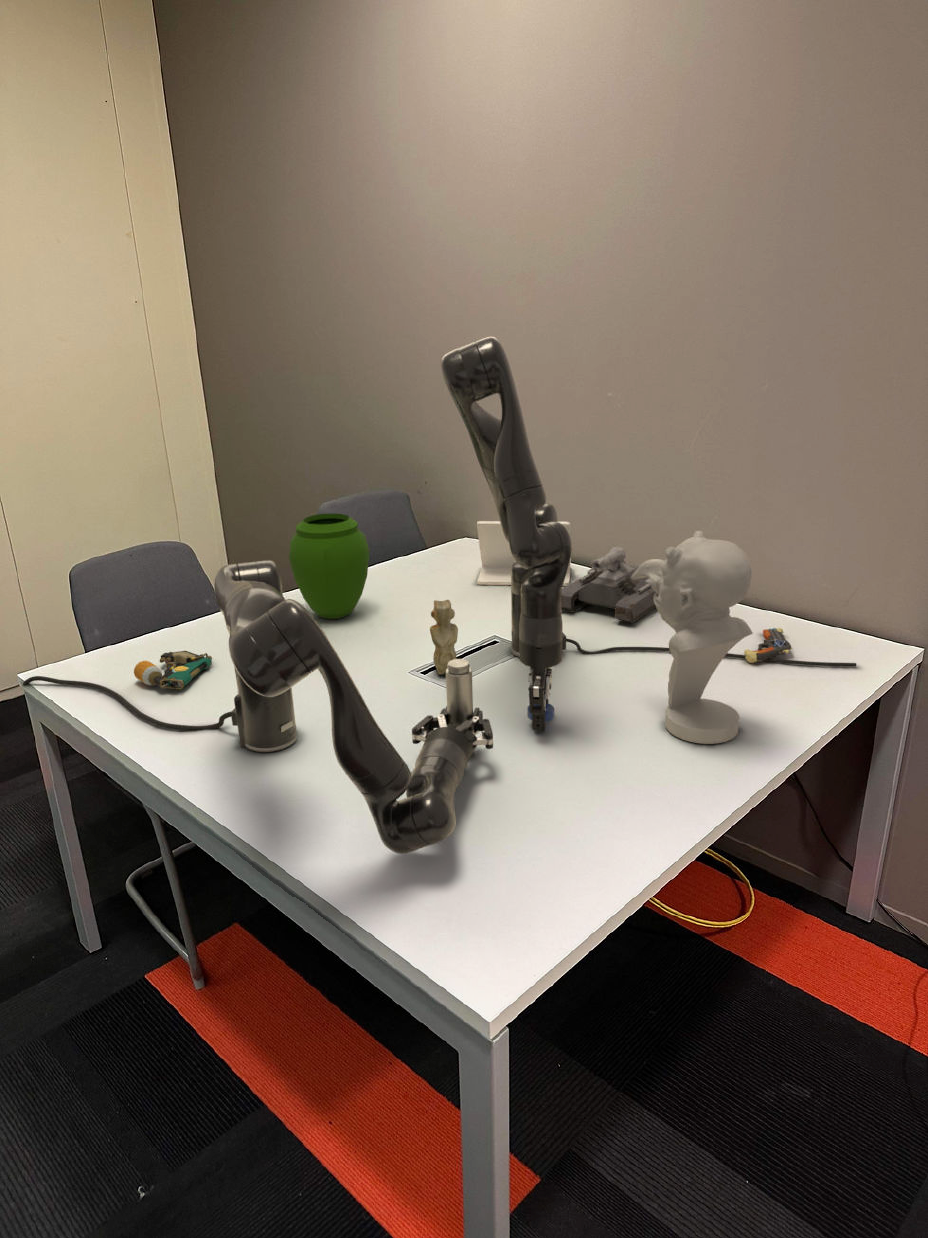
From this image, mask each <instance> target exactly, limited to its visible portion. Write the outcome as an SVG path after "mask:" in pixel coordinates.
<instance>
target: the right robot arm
mask: <svg viewBox="0 0 928 1238" xmlns="http://www.w3.org/2000/svg"><path fill="white" fill-rule="evenodd" d="M440 368H441V374H442V377H443V380H444V383H445V384H446V388H447V390H448V392H449V395H450V397H451V398H452V400H453V402H454V405H455V407H456V409H457V411H458V413H459V415H460V417H461V419H462V422H463V423H464V426H465V428H466V430H467V432H468V435H469V438H470V441H471V444H472V446H473V449H474V453H475V456H476V458H477V461H478V463H479V466H480V468H481V471H482V474H483V476H484V478H485V480H486V483H487V486H488V487H489V490H490V492H491V495H492V498H493V502H494V504H495V507H496V512H497V515H498V521H500V524H501V527H502V531H503V534H504V536H505V538H506V540H507V541H508V542H509V546H510V550H511V553H512V556H513V558H514V559H515V561H516V562H515V563H513V565H512V567H511V585H510V588H511V589H510V597H511V599H510V603H511V604H510V606H511V607H510V609H511V610H510V615H511V617H510V618H511V621H510V622H511V643H510V644H511V647H510V651H511V653H512V655H513V656H515V657H518V658H519V661H520V663H521V664H523V665H524V666H526V667H529V668H530V670H529V672H528V676H527V677H528V679H527V682H528V683H529V686H528V701H529V705H530V708H529V711H530V713H532V720H531V723H532V725H531V729H532V731H535V732H544V731H545V728H546V722H545V711H546V703H548V704H549V698H550V696H551V692H550V691H551V689H552V685H553V674H554V669H553V667H554V668H555V667H556V666H558V665H559V664H560V663H562V661H563V651H567V643H569V644H572V645H574V646H575V647H576V649H577V651H578V652H579V653H581V654H583V655H599V654H605V653H610V652H615V651H655V652H670V649H669V647H663V646H662V647H661V646H659V647H658V646H614V647H608V648H604V649H600V650H596V651H595V650H594V651H588V650H584V649H582V648H581V645H580V644H579V642H577V641H576V640H574V639H570V638H568V637H567V635H566V634H565V632H563V617H562V610H561V600H562V594H561V591H562V588H563V587H564V586H563V583H564V580H565V577H566V573H567V569H568V565H569V562H570V558H571V556H572V550H573V549H572V548H573V544H572V537H571V534H570V535H569V532H568V531H567V529H566V528H565V527H564V526H563V525H562V524H561V523H559V522H560V521H558V513H557V509H556V507H555V506H554V505H553V504H551V503H547V496H546V492H545V488H544V486H543V483H542V479H541V477H540V475H539V471H538V469H537V466H536V463H535V460H534V457H533V453H532V450H531V447H530V442H529V438H528V433H527V429H526V425H525V420H524V416H523V411H522V408H521V403H520V400H519V395H518V391H517V388H516V384H515V380H514V376H513V373H512V368H511V366H510V362H509V360H508V357H507V354H506V352H505V350H504V348H503V346H502V344H501V342H500V341H499V340H498V339H497V337H494V336H487V337H484V338H481V339H478V340H476V341H473V342H471V343H469V344H466V345H463V346H460V347H458V348H456V349H453V350H451V351H448V352H447V353H445V354H444V355H443V356H442V358H441V361H440ZM497 394H498V396H499V400H500V406H501V418H500V417H498V416H496V415H493V414H491V413H490V412H488V411H487V410H485V408H483V407H482V406H481V405H480V404H479V403H478V402H479V401H481V400H485V399H487V398H489V397H492V396H494V395H497ZM724 658H736V659H743V660H746V656H745V654H739V653H729V652H728V653H727V654H726V655H725V656H724ZM759 662H768V663H779V664H788V665H789V664H791V665H801V666H814V667H815V666H816V667H817V666H818V667H854V668H856V667H857V662H829V661H828V662H825V661H807V660H806V661H805V660H796V659H795V660H794V659H784V658H775V657H770V658H767V659H764V660H760V661H759ZM535 704H539V705H541V706H537V705H535Z"/></svg>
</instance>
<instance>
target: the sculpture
mask: <svg viewBox="0 0 928 1238" xmlns="http://www.w3.org/2000/svg"><path fill="white" fill-rule="evenodd" d="M455 615H456V611H455V609H453V608H452V602H451V601H450V599H445V600H433V610H431V612H430V617H431V618H432V619H433V620H434V621H435V622H436V623H435V624H433V625H431V626H429V633H430V636H431V640H432V641H431V642H432V643H433V645H434V648H435V649H434V652H433V656H432V657H433V659H432V660H433V665H434V667H435V668H436V671H437V674H438V675H446V669H447V667H448V666H447V665H448V662H449V661H451V660H454V659H457V652H456V649H455V644H456V643H457V642H458V637H459V635H458V634H459V627H458V626H457V624H455V623H453V622H451V621H452V620H453V619H454V618H455Z"/></svg>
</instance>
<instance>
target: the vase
mask: <svg viewBox="0 0 928 1238" xmlns="http://www.w3.org/2000/svg"><path fill="white" fill-rule="evenodd" d="M358 524H359V523H358V521H356V520H355V519H353V518H352V517H350V516H349V515H347V514H344V513H335V512H334V513H333V512H331V513H320V514H313V515H310V516H307V517H305V518H303V519H302V520H301V521H300V522H299V523H298V524H297V525H296V526H295V532H296V533H295V534H294V536H293V537H292V538H291V540H290V542H289V551H288V559H289V564H290V566H291V567H290V568H291V570H292V575H293V578H294V581H295V584H296V586H297V587H298V589H299V591H300V593H301V596H302V597H303V600H304V601H305V603H306V604H307V605H308V607H309V608H310V609H311V611H312V612H314V613H315V614H316V615H317V616H318V617H320V618H324V619H326V620H327V619H329V620H336V619H341V618H345V617H347V616H349V615H350V614H351V613H352V612H353V611H354V610H355V608H356V607H357V605H358V604H359V601H360V599H361V597H362V595H363V592H364V588H365V586H366V581H367V578H368V570H369V561H370V560H369V559H370V548H369V545H368V541H367V537H366V535H365V534H364V533H363V532H362V531H361V530H360V529H359V527H358Z"/></svg>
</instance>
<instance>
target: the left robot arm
mask: <svg viewBox="0 0 928 1238" xmlns="http://www.w3.org/2000/svg"><path fill="white" fill-rule="evenodd" d="M283 592H284V591H283V581H282V575H281V571H280V568H279V566H278V564H277V563H276V562H275V561H274V560H272V559H263V560H253V561H246V562H237V563H229V564H225V565H224V566H221V567H220V568H219V569H218V570H217V572H216V575H215V578H214V595H215V600H216V604H217V606H218V609H219V611H220V612H221V614H222V615H223V617H224V622H225V626H226V629H227V632H228V634H229V637H228V651H229V656H230V659H231V661H232V662H231V663H232V664H233V666H234V673H235V674H234V675H235V681H236V687H237V694H236V695H235V696H234V698H233V703H234V708H233V709H232V710H231V711H228V712H225V713H223V714H222V715H220V716H219V718H218V722H217V723H213V724H208V725H187V724H176V723H169V722H164V721H161V720H158V719H155V718H153V717H152V716H149V715H147V714H145V713H143V712H142V711H141V710H139V709H138V708H137V707H136V706H135V705H133V704H132V703H130V702H129V701H128V700H127V699H126V698H125V697H124V696H122V695H121V694H119V693H118V692H116V691H114V690H113V689H111V688H108V687H106V686H104V685H101V684H98V683H93V682H89V681H80V680H69V679H68V680H67V679H58V678H54V677H50V676H42V675H35V676H31V677H28V678H26V679H25V680H24V681H23V683H22V686H28V685H29V684H30V683H32V682H37V681H39V682H47V683H52V684H56V685H63V686H75V687H86V688H92V689H95V690H98V691H102V692H104V693H106V694H108V695H110V696H112V697H113V698H115V699H116V700H118V701H119V702H120V703H121V704H122V705H124V706H125V707H126V708H127V709H128V710H130V711H131V712H132V713H133V714H134V715H136V716H137V717H139V718H140V719H142V720H144V721H146V722H148V723H150V724H152V725H155V726H158V727H161V728H164V729H169V730H177V731H188V732H190V731H191V732H196V731H198V732H199V731H208V730H209V731H210V730H217V729H220V728H221V727H223V725H225V720H226V719H229V718H231V724H232V726H233V727H237V733H238V739H239V746H240V747H243V748H244V747H245V748H246V749H247V750H249V751H251V752H256V753H273V752H277V751H282V750H284V749H287V748H289V747H291V746H292V745H293V744H295V742H296V741H297V740H298V731H297V723H296V714H295V713H296V712H295V705H294V697H293V687H294V686H295V685H297V684H298V683H299V682H301V681H303V680H304V679H305V678H307V677H308V676H310V675H311V674H312V673H313V672H315V671H316V670H318V671H319V673H320V675H321V676H322V679H323V680H324V682H325V686H326V689H327V692H328V697H329V703H330V705H329V706H330V715H331V738H332V740H331V741H332V747H333V751H334V755H335V757H336V761H337V763H338V765H339V766H340V768H341V769H342V771H343V772H344V774H345V775H346V776H347V778H349V780H350V781H351V782H352V784H353V785H354V786H355V788H356V789H357V790H358V791H359V793H360V794H361V795H362V796H363V798H364V800H365V802H366V804H367V807H368V808H369V811H370V814H371V817H372V819H373V821H374V824H375V827H376V830H377V833H378V835H379V838H380V840H381V842H382V844H383V845H384V846H385V847H386V848H387V849H388V850H390V851H392V852H393V853H396V854H399V855H404V854H405V855H406V854H410V853H413V852H415V851H418V850H420V849H424V848H426V847H429V846H431V845H435V844H438V843H441V842H442V841H445V840H446V839H447V838H449V837H450V836H451V835H452V833H453V832H454V830H455V828H456V825H457V818H456V811H455V794H456V791H457V788H458V786H459V784H460V783H461V782H462V779H463V777H464V775H465V774H466V771H467V767H468V763H469V761H470V759H471V757H470V756H471V752H472V750H474V751H475V749H476V748H477V747H478V746H485V749H487V750H492V749H494V733H493V729H492V726H491V721H490V719H489V718H484V715H483V713H484V711H483V710H481V709H480V707H475V708H474V709H473V715H472V718H471V719H470V720H466V721H465V722H464V723H462V724H461V725H460V726H453V725H448V716H447V705H446V706H445V708H442V709H441V710H440V712H439V714H437V715H436V717H434V715H431V714H429V715H427V716H425V717H424V718H423V719H422V720H420V721H419V722H418V723H417V724H416V725H414V727H412V728H411V740H412V741H411V742H412V744H413V745H418V744H420V743H421V742H424V743H423V744H422V747H421V749H420V751H419V753H418V755H417V758H416V759H415V764H414V767H413V769H412V772H411V769H410V768H409V766H408V764H407V763H406V762H405V760H404V758H403V757H402V756H401V755H400V753H399V752H398V751H397V750H396V748H395V747H394V745H393V744H392V742H391V741H390V740H389V738H388V737H387V736H386V735H385V733H384V731H383V730H382V728H381V727H380V726H379V724H378V723H377V721H376V719H375V718H374V716H373V714H372V712H371V711H370V709H369V707H368V705H367V704H366V702H365V700H364V697H363V696H362V694H361V692H360V691H359V689H358V686H357V685H356V683H355V682H354V680H353V677H352V676H351V675H350V673H349V671H348V670H347V668H346V667H345V665H344V663H343V661H342V659H341V658H340V656H339V654H338V653H337V651H336V650H335V647H334V646H333V645H332V643H331V641H330V640H329V638H328V636H327V635H326V632H324V630H323V628H321V626H320V625H319V623H318V622H317V621H316V619H315V618H314V617H313V616H312V614H311V613H310V612H309V610H307V609H306V608H305V607H304V606H303V605H302V604H301V603H300V602H299V601H297V600H294V599H291V598H287V599H286V598H285V596H284V594H283ZM480 732H481V734H479V736H477V734H478V733H480ZM404 794H405V795H406V797H405V798H403V799H401V800H398V799H399V798H400V797H401V796H403V795H404Z"/></svg>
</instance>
